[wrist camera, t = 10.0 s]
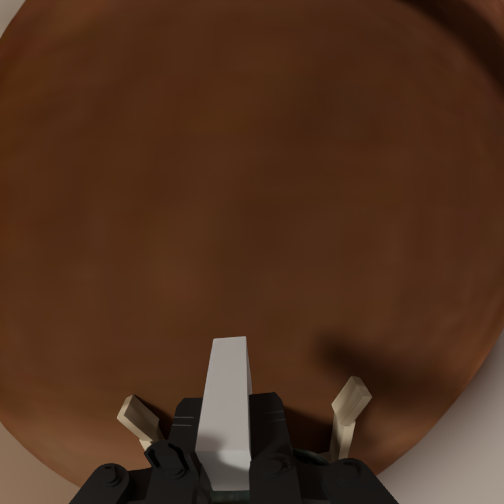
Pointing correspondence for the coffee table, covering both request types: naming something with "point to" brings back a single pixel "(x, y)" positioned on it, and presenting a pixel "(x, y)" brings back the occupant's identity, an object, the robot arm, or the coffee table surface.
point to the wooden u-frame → (342, 431)
